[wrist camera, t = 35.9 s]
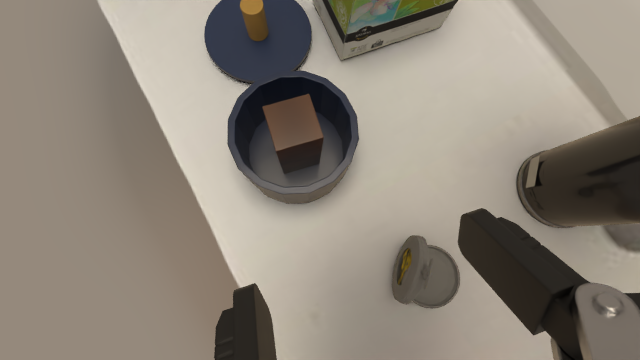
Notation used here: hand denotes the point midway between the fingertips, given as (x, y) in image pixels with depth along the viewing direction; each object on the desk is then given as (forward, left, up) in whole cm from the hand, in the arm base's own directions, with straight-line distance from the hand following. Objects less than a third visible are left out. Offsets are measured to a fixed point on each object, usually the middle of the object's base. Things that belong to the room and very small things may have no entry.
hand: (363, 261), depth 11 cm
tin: (+1, -12, -23) cm, 26 cm away
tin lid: (+3, -28, -22) cm, 36 cm away
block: (+1, -12, -22) cm, 25 cm away
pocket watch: (-10, +4, -23) cm, 25 cm away
